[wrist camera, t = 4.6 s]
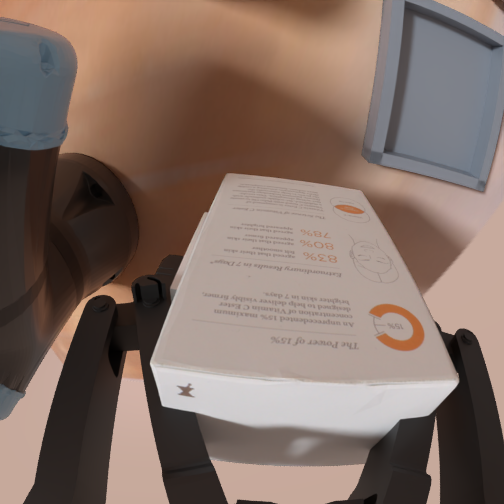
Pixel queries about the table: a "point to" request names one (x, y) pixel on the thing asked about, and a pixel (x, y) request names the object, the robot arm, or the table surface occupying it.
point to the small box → (298, 328)
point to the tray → (436, 93)
